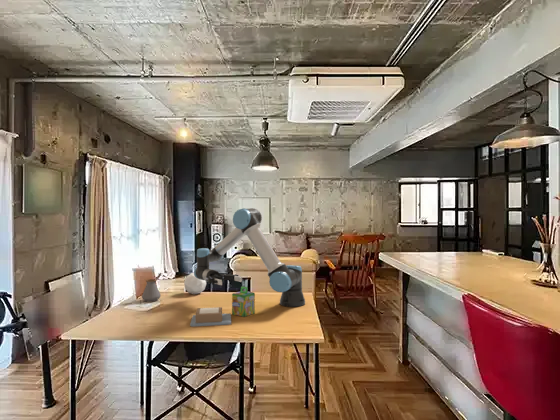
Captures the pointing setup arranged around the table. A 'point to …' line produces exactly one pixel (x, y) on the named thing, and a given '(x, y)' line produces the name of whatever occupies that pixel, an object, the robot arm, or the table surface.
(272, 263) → the robot arm
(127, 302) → the table surface
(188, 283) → the geometric shape
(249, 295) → the chalk box
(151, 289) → the coffee pot
